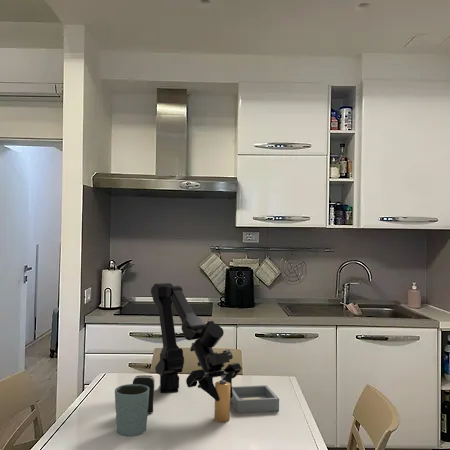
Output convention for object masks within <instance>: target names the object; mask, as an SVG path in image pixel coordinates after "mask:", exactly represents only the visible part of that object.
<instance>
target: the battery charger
mask: <svg viewBox="0 0 450 450" xmlns="http://www.w3.org/2000/svg"><path fill="white" fill-rule="evenodd" d="M132 384H141V385H146V386H148V387H149V402H148V411H147V412H148V414H152V413H154V401H155V400H154V399H155V378H154V377H153V375H136V376H135V377H134V379H132Z"/></svg>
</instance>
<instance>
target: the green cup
mask: <svg viewBox="0 0 450 450" xmlns="http://www.w3.org/2000/svg"><path fill="white" fill-rule="evenodd" d="M114 400H115V401H114V402H115V420H116V421H115V424H116V432H117V434H118V435H120V436H123V437H136V436H137V437H138V436H141V435H143V434H144V433H145V432H146V431H147V427H148V424H147V423H148V414H149V413H148V412H147V411H148V402H149V387H148V386H146V385H141V384H133V383H129V384H128V383H127V384H123V385H119V386H117V387H116V388H114Z"/></svg>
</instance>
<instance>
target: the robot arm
mask: <svg viewBox="0 0 450 450" xmlns="http://www.w3.org/2000/svg"><path fill="white" fill-rule="evenodd" d="M150 293H151V297H152V301H153V303H154V304H155V305H156V306H157V308H158V315H159V323H160V330H161V331H160V332H161V339H162V349H161V351H160V353H159V361H158V362H157V363H156V365H155V366H154V367H155V369H154V370H155V374H157V375H159V386H158V388H159V392H160V393H176V392H179V388H180V376H179V373H183V369H184V365H185V357H184V350H183V348H182V347H180V346H178V345H177V338H176V331H175V323H174V315H173V308H172V304H173V307H174V308H175V311H176V313H177V314H178V317H179V318H180V321H181V326H180V327H181V331H182V335H183V337H184V338H185V340H186V341H194V340H195V341H194V342H192V343H191V346H190V349H189V351H190V352H194V353H195V355H196V358H197V360H198V362H197V367H201V368H200V369H195V370H192V371H191V372H190V374H189V375H188V376H187V378H186V380H185V383H186V386H187V387H188V388H189V389H190V388H193V387H196V386H197V388H198V389H200V390H202V391H204V392H205V393H207V394H208V395H209V396H211V397H212V398H213V400H214V401H215V400H216V401H219V400H220V399H219V396H218V393H217V391H216V389H215V383H214V378H218V377H220V378H221V379H220V380H226V382H229V383H230V398H232V397H233V393H232V387H233V383H232V382H233V379H235V378H236V377H237V376H238V375H239V373H241V371H242V370H243V368H242V366H241V364H240V362H239V363H238V362H233V363H230V362H231V361H230V360H232V359H233V352H232V351H231V350H230V349H229V348H228V349H225V350H222V352H219V353H218V352H214V349H213V348H214V347H215V346H216V345H217V344H218V343H219V341H220V340H221V339H222V338H223V336H224V329H223V327H221V326H220V325H219V324H217V323H215V322H214V320H208V321H207V323H206V324H205V322H204V321H203V320H202V318H201V317H199V316H197V315H196V314H195V313H194V310H193V308H192V307H191V305H190V303H189V301H188V300H187V297H186V296H185V294H184V290H183V287H182V286H180V285H173V284H172V283H171V282H164V283H163V282H161V283H154V284H153V285H152V287H151V288H150ZM226 363H229V364H228V365H226V367H225V364H226ZM224 367H225V368H224ZM223 368H224V369H223ZM197 384H198V385H197Z"/></svg>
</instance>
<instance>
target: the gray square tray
mask: <svg viewBox="0 0 450 450" xmlns="http://www.w3.org/2000/svg"><path fill="white" fill-rule="evenodd" d="M232 393H233V397H232V398H230V404H232V406H233V408H234V410H235V411H236V413H237V414H243V413H244V414H247V413H260V412H261V413H264V412H278V411H279V412H280V398H279V396H278V395H277V394H275V392H274V391H273V390H272V389H271V388H270V387H269V386H268V385H267V384H263V385H243V386H242V385H241V386H240V385H239V386H232Z"/></svg>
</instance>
